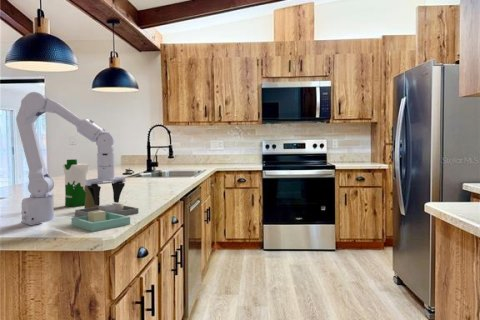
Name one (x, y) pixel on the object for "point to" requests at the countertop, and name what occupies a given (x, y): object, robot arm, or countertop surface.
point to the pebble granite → (118, 206)
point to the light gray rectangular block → (107, 208)
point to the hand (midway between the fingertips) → (106, 203)
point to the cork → (89, 199)
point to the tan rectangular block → (96, 216)
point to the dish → (101, 222)
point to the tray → (125, 211)
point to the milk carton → (75, 183)
